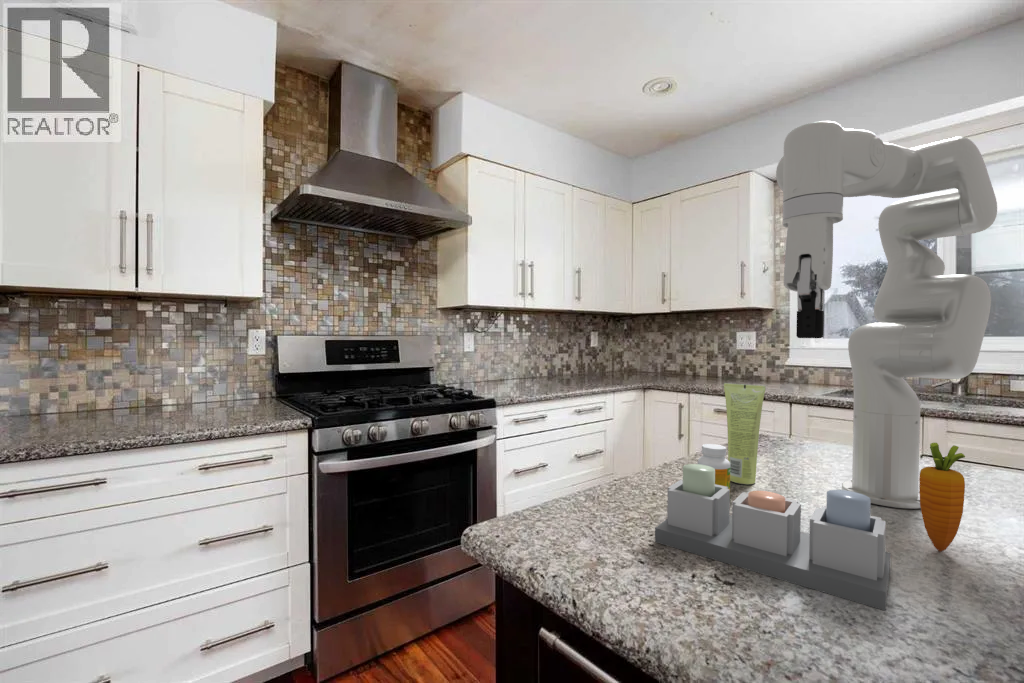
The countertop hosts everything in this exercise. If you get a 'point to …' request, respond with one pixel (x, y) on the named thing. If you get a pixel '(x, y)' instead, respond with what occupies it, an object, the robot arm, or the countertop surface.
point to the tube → (743, 429)
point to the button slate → (848, 509)
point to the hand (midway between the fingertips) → (809, 337)
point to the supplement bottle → (716, 463)
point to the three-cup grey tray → (780, 543)
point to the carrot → (942, 497)
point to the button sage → (699, 479)
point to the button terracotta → (767, 500)
